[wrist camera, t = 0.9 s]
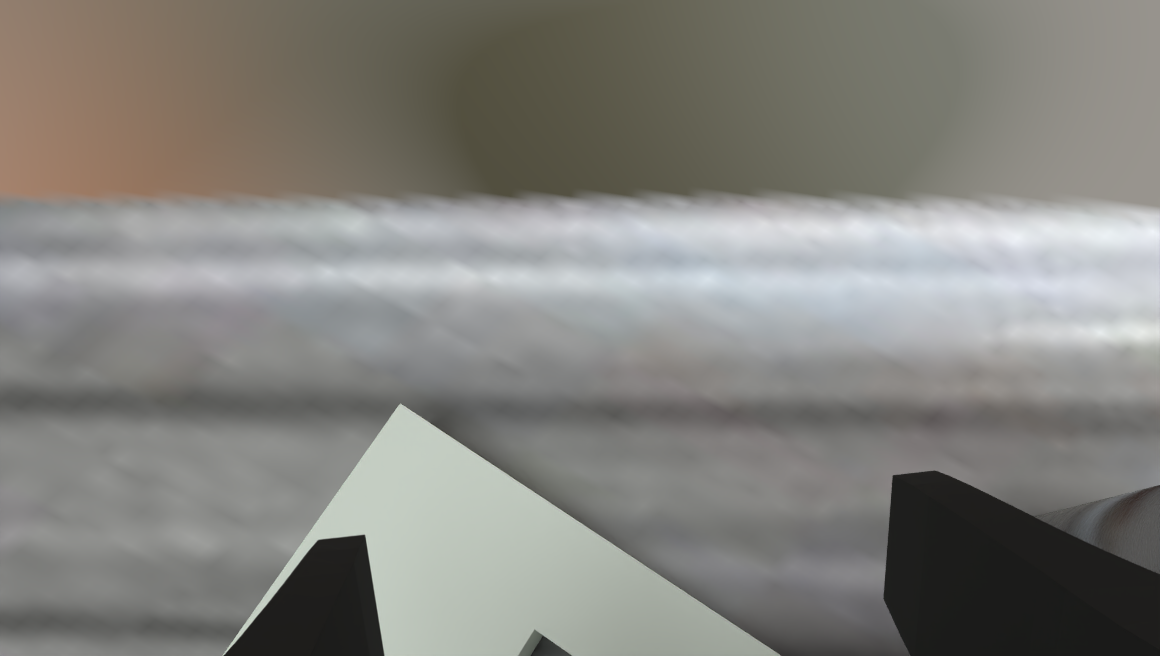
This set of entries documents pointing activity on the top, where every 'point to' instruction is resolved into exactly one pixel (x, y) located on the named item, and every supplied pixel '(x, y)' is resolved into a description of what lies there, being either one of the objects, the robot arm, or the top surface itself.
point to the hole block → (498, 563)
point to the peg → (1117, 525)
